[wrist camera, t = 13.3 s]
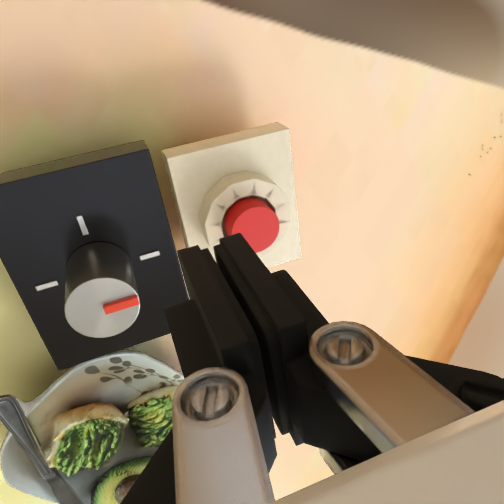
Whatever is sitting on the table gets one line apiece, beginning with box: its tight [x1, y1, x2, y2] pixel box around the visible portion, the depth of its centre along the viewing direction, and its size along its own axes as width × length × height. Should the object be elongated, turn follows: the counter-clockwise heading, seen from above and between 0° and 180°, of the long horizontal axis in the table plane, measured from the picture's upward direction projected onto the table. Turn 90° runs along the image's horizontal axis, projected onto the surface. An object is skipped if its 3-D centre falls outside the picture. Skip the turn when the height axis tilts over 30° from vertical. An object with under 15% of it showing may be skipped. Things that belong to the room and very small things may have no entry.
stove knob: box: [65, 242, 140, 338], centre depth 29 cm, size 4×4×5 cm
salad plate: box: [0, 350, 184, 504], centre depth 38 cm, size 19×18×5 cm
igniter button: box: [224, 198, 280, 253], centre depth 32 cm, size 4×4×2 cm
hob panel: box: [0, 140, 189, 370], centre depth 32 cm, size 15×11×3 cm
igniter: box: [162, 122, 302, 268], centre depth 34 cm, size 11×9×4 cm
